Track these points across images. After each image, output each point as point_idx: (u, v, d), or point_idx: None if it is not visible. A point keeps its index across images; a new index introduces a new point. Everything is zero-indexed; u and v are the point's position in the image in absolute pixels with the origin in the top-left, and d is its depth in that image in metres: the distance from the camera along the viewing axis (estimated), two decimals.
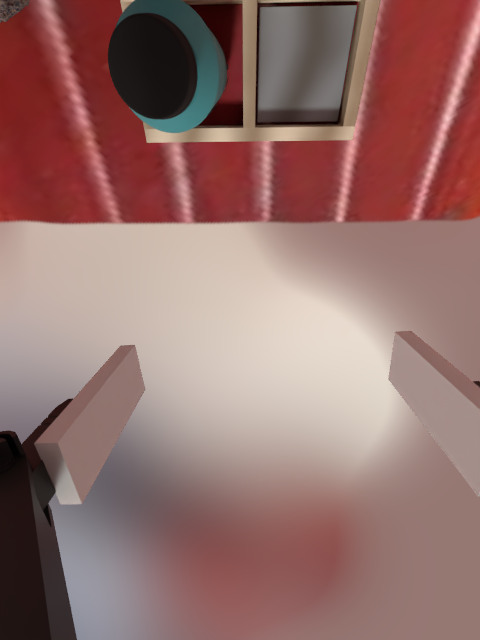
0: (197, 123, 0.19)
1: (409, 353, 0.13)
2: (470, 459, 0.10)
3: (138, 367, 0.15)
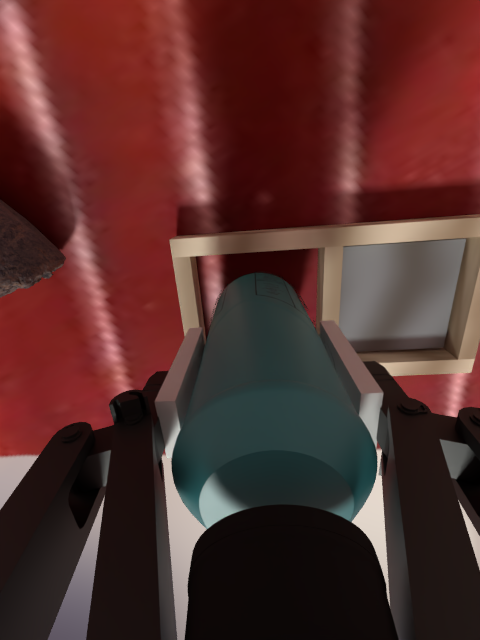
0: None
1: (326, 339, 0.15)
2: None
3: None
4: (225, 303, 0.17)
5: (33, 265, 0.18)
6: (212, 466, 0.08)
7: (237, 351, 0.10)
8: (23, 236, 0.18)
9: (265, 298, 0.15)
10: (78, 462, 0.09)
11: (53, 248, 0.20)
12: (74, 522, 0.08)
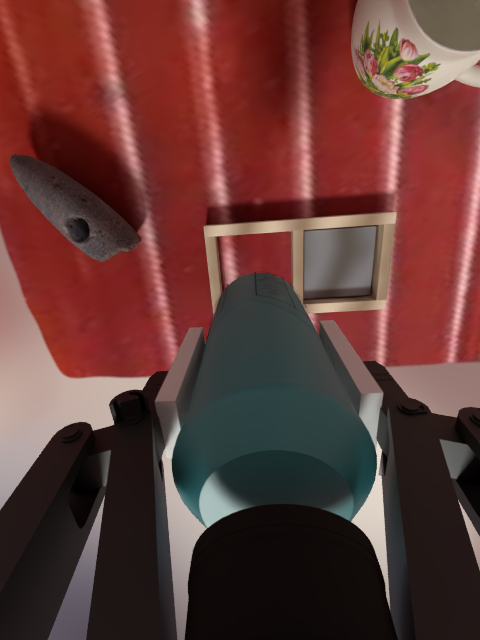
0: None
1: (326, 339, 0.15)
2: None
3: None
4: (225, 303, 0.17)
5: (130, 239, 0.32)
6: (212, 466, 0.08)
7: (237, 351, 0.10)
8: (123, 224, 0.33)
9: (265, 298, 0.15)
10: (78, 462, 0.09)
11: (135, 231, 0.34)
12: (74, 522, 0.08)
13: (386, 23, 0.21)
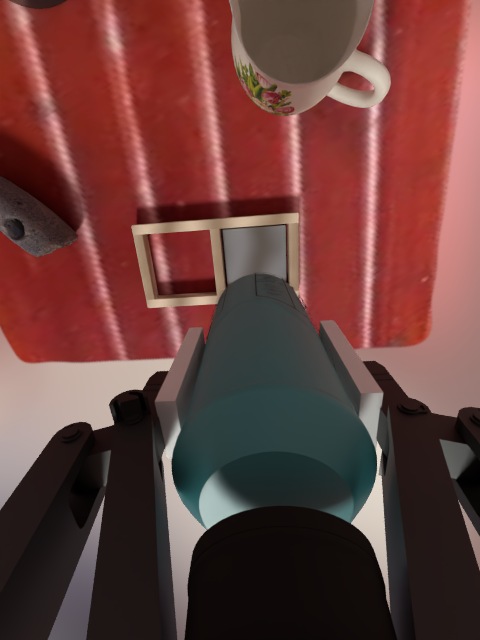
0: None
1: (326, 339, 0.15)
2: None
3: None
4: (225, 304, 0.17)
5: (63, 237, 0.37)
6: (212, 467, 0.08)
7: (237, 352, 0.10)
8: (58, 223, 0.37)
9: (265, 299, 0.15)
10: (78, 462, 0.09)
11: (72, 230, 0.39)
12: (74, 522, 0.08)
13: (243, 58, 0.25)
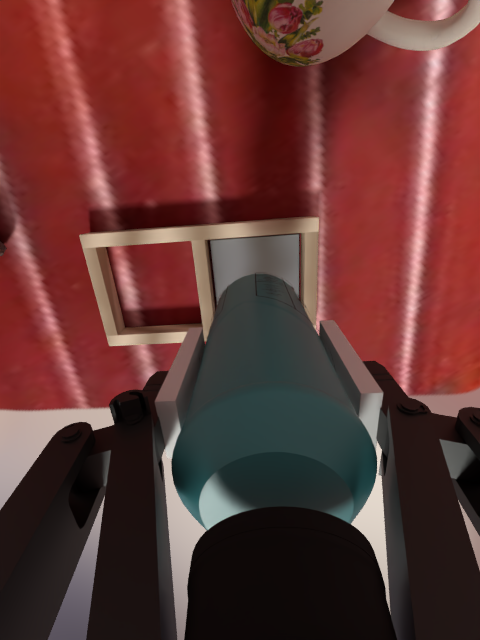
0: None
1: (325, 339, 0.15)
2: None
3: (204, 348, 0.17)
4: (225, 304, 0.17)
5: None
6: (212, 468, 0.08)
7: (238, 352, 0.10)
8: None
9: (265, 299, 0.15)
10: (78, 462, 0.09)
11: None
12: (74, 522, 0.08)
13: None
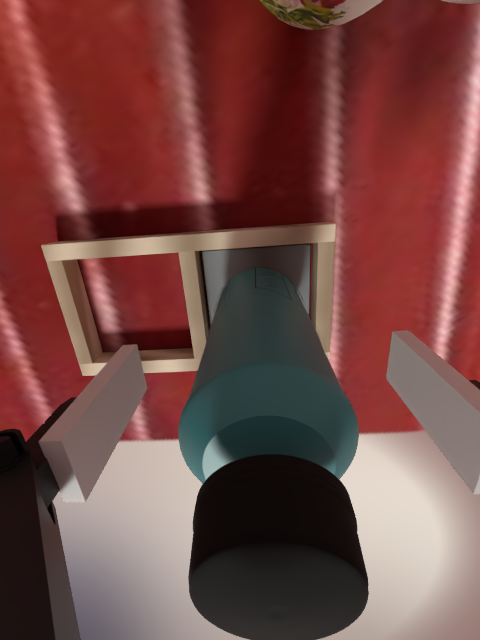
0: None
1: (406, 352, 0.13)
2: (466, 457, 0.10)
3: (140, 366, 0.15)
4: (227, 296, 0.18)
5: None
6: (213, 430, 0.09)
7: (236, 335, 0.12)
8: None
9: (264, 291, 0.16)
10: None
11: None
12: None
13: None
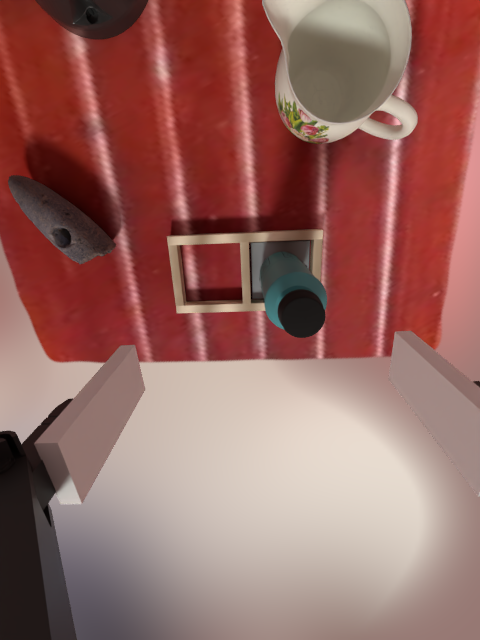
0: None
1: (409, 353, 0.13)
2: (470, 459, 0.10)
3: (138, 367, 0.15)
4: (270, 262, 0.37)
5: (105, 246, 0.39)
6: (280, 292, 0.28)
7: (283, 269, 0.31)
8: (100, 233, 0.40)
9: (289, 258, 0.36)
10: None
11: (111, 239, 0.42)
12: None
13: (288, 96, 0.28)
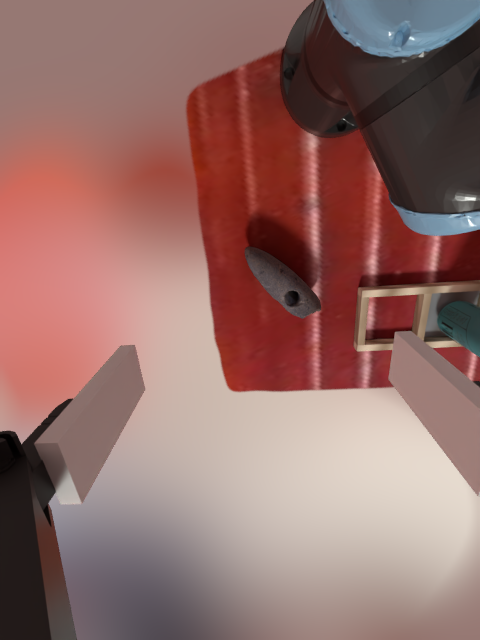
0: None
1: (409, 353, 0.13)
2: (470, 459, 0.10)
3: (138, 367, 0.15)
4: (465, 314, 0.45)
5: (319, 302, 0.47)
6: None
7: None
8: (312, 291, 0.48)
9: None
10: None
11: None
12: None
13: None
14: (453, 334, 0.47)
